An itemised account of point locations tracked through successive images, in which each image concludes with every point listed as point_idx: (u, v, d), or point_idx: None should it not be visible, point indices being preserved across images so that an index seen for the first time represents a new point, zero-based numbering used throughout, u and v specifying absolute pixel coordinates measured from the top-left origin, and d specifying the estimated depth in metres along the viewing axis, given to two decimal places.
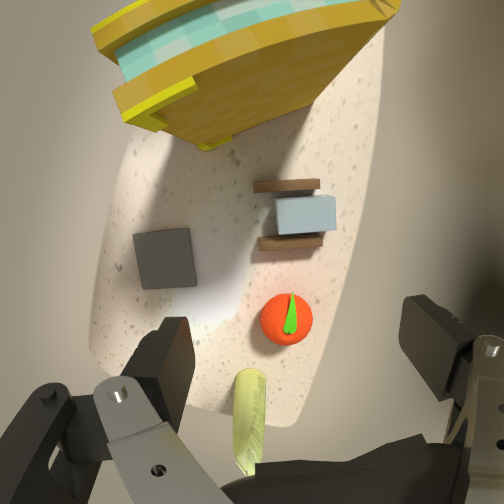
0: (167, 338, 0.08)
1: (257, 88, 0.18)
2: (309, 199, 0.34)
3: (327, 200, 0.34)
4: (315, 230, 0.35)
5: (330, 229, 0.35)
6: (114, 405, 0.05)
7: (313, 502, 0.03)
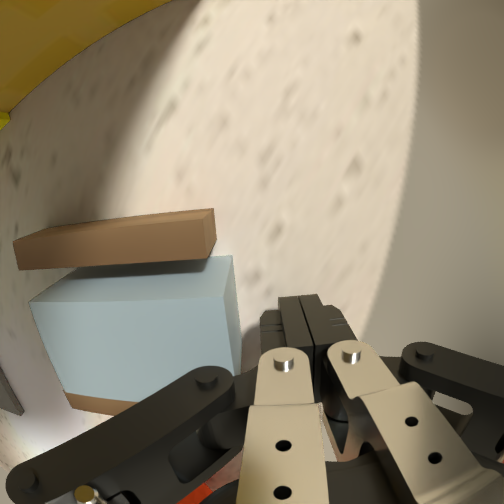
0: (296, 314, 0.09)
1: None
2: (118, 303, 0.08)
3: (191, 308, 0.08)
4: None
5: None
6: (293, 373, 0.06)
7: None
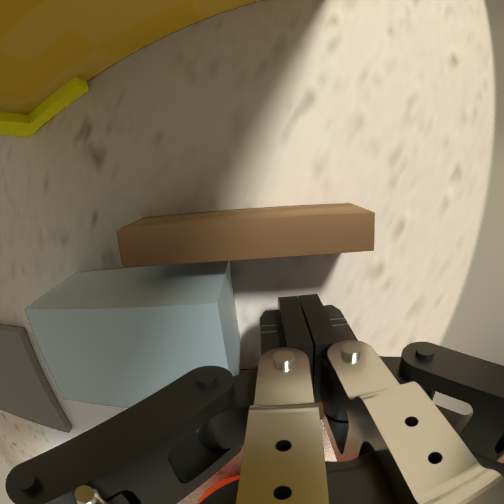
0: (296, 314, 0.09)
1: None
2: (113, 310, 0.08)
3: (185, 315, 0.08)
4: None
5: None
6: (293, 373, 0.06)
7: None
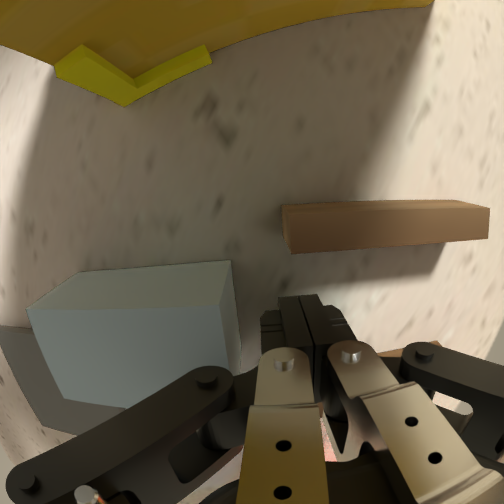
0: (296, 314, 0.09)
1: None
2: (114, 311, 0.08)
3: (187, 317, 0.08)
4: None
5: None
6: (293, 374, 0.06)
7: None
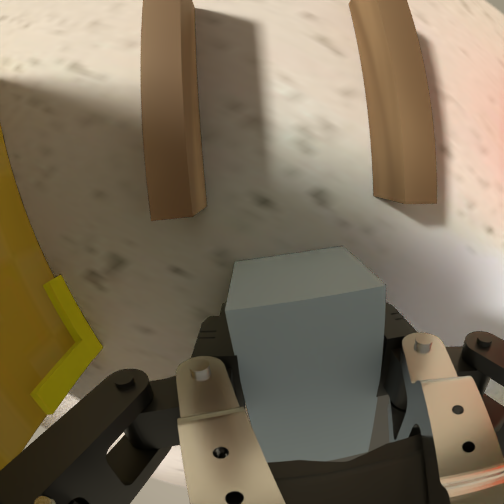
0: None
1: None
2: (249, 402, 0.08)
3: (243, 341, 0.07)
4: (376, 368, 0.08)
5: (380, 313, 0.07)
6: (204, 383, 0.06)
7: (313, 502, 0.03)
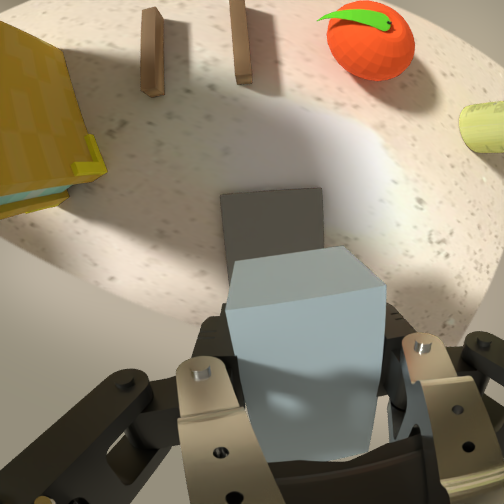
0: None
1: None
2: (249, 402, 0.08)
3: (244, 341, 0.07)
4: (376, 368, 0.08)
5: (381, 312, 0.07)
6: (204, 383, 0.06)
7: (313, 502, 0.03)
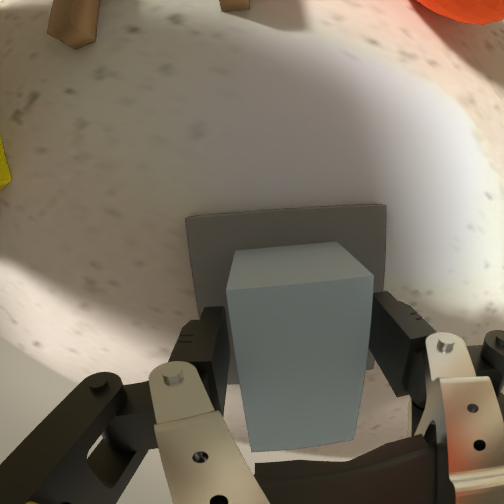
0: (212, 325, 0.09)
1: None
2: (243, 381, 0.09)
3: (241, 319, 0.08)
4: (363, 354, 0.08)
5: (368, 301, 0.08)
6: (174, 389, 0.06)
7: (313, 502, 0.03)
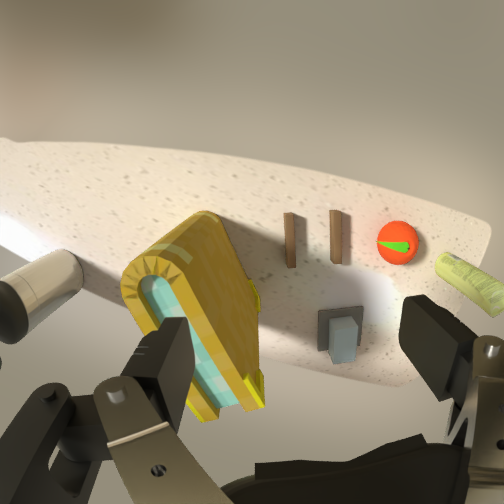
0: (167, 338, 0.08)
1: (231, 311, 0.30)
2: (334, 345, 0.46)
3: (336, 334, 0.46)
4: (356, 340, 0.46)
5: (357, 330, 0.46)
6: (114, 405, 0.05)
7: (313, 502, 0.03)
